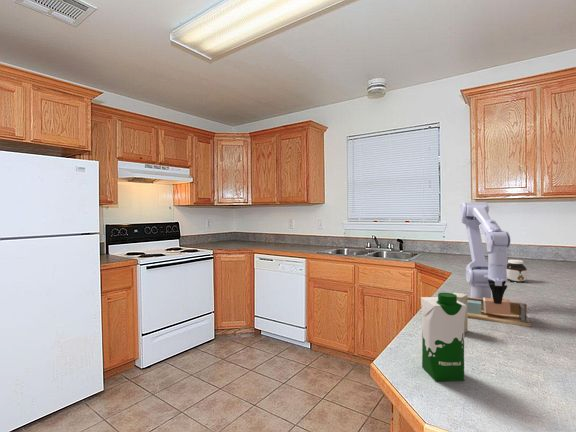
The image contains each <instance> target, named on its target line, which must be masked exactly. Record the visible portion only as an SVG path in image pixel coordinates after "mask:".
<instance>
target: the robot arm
mask: <svg viewBox="0 0 576 432" xmlns="http://www.w3.org/2000/svg"><path fill="white" fill-rule="evenodd" d="M489 211H490V207H489V204H488V203H487V202H486V201H483V202H481V201H479V202H464V201H463V202H461V204H460V205H459V216H460V220H461V223H462V224H464V225H465V228H466V229H465V230H466V233H467V240H468V244H469V252H470V258H471V261H470V262H469V263H468V264H467V265H466V266H465V279H466V282H467V283H468V284H470V297H472V298H481V299H483V298H493V301H494V303H495V304H501V303H502V299H504V294H505V292H506V291H507V288H508V285H506V284H507V281H508V280H507V264H508V248H509V247H510V246H511V236H510V234H509V232H508V231H505V230H502V229H501V227H500V226H499V225H498V223H497V221H496V220H494V219H491V217H490V215H489ZM480 230H481V231H482V233H483V234H484V236H485V245H486V251H487V252H488V253H487V254H488V257H487V258H488V261H487V260H486V256H485V251H484V246H483V241H482V236H481V231H480Z"/></svg>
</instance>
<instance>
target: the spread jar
mask: <svg viewBox="0 0 576 432" xmlns="http://www.w3.org/2000/svg"><path fill="white" fill-rule="evenodd" d="M527 280H528V269H527V267H526V265H525V264H524V260H520V259H507V280H506V281H507V282H509V281H510V282H509V283H514V282H516V283H515V284H521V283H522V282H523V283H525V282H526V281H527ZM523 283H522V284H523Z"/></svg>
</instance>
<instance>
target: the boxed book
mask: <svg viewBox="0 0 576 432" xmlns="http://www.w3.org/2000/svg"><path fill="white" fill-rule="evenodd" d="M510 302H511V301H510V300H509V299H508V298H503V299H502V303H501V304H495V303H494V301H493V297H491V298H483V303H484V313H491V314H504V315H511V313H510Z"/></svg>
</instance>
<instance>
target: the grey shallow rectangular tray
mask: <svg viewBox="0 0 576 432" xmlns="http://www.w3.org/2000/svg"><path fill="white" fill-rule="evenodd" d="M518 303H519V318H520V320H521V322H525V323H530V324H531V321H530V319H529V317H528V315H527V316H525V307H524V305H523V303H524V302H518Z"/></svg>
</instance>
